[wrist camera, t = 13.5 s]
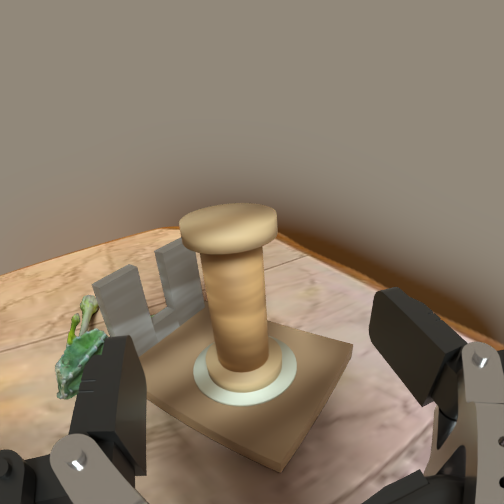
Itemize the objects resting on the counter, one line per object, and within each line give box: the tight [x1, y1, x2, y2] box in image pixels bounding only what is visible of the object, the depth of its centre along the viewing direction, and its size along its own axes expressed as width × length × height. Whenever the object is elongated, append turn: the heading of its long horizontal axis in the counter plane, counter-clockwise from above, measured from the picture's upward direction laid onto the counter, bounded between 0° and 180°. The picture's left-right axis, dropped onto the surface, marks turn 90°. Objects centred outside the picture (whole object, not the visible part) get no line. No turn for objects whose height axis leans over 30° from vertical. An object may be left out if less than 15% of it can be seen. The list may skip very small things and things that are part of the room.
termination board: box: [92, 238, 353, 473], centre depth 24 cm, size 18×13×10 cm
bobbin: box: [179, 203, 282, 393], centre depth 22 cm, size 6×6×12 cm
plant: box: [55, 295, 154, 399], centre depth 29 cm, size 15×16×6 cm
